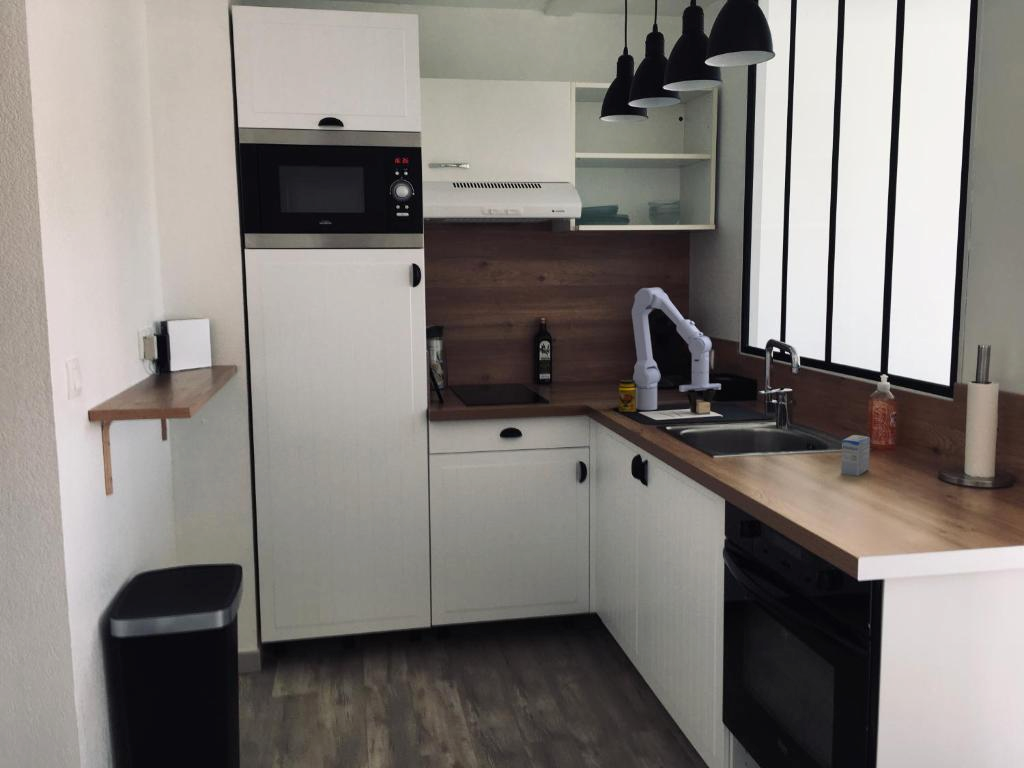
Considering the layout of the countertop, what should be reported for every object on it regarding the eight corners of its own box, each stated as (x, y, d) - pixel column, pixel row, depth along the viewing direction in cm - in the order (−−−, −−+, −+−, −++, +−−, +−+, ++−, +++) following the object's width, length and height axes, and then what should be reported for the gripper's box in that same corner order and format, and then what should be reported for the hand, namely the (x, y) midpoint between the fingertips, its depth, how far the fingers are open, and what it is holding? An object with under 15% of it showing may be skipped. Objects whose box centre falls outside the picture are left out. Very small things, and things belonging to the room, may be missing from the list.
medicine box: (851, 468, 228) (852, 434, 226) (869, 470, 225) (870, 436, 224) (840, 474, 222) (841, 439, 220) (858, 476, 219) (859, 441, 218)
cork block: (690, 411, 310) (690, 400, 309) (701, 411, 311) (701, 399, 310) (699, 415, 303) (699, 403, 302) (710, 414, 304) (710, 402, 303)
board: (638, 415, 311) (638, 412, 311) (702, 411, 317) (702, 408, 317) (656, 423, 296) (656, 419, 296) (722, 418, 301) (722, 415, 301)
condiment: (622, 416, 312) (622, 382, 310) (612, 412, 320) (612, 379, 318) (641, 414, 314) (641, 380, 312) (631, 411, 322) (630, 378, 320)
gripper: (685, 374, 299) (685, 414, 301) (725, 372, 303) (724, 411, 304) (676, 372, 306) (676, 411, 308) (715, 370, 309) (715, 408, 311)
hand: (700, 411), depth 307 cm, fingers open, 4 cm apart
